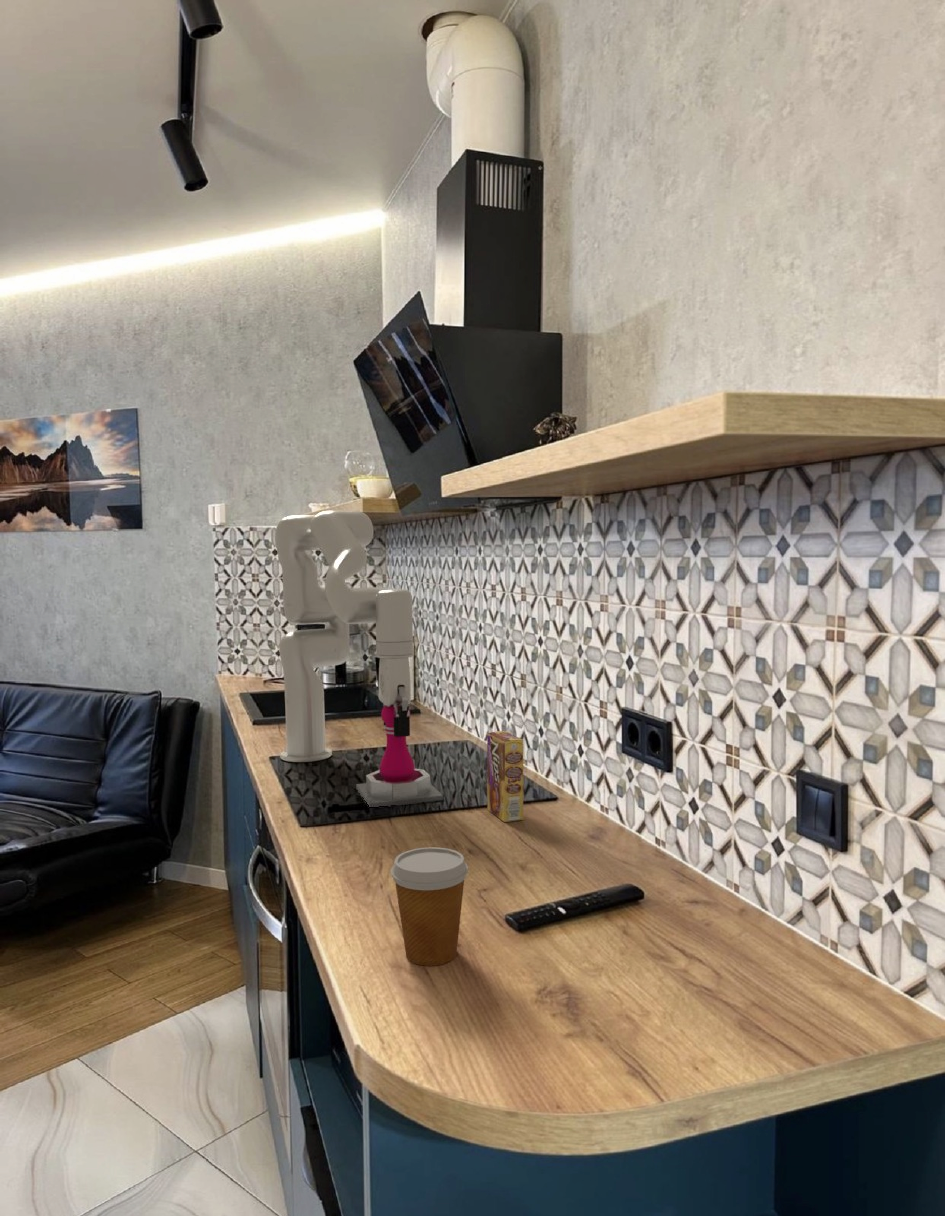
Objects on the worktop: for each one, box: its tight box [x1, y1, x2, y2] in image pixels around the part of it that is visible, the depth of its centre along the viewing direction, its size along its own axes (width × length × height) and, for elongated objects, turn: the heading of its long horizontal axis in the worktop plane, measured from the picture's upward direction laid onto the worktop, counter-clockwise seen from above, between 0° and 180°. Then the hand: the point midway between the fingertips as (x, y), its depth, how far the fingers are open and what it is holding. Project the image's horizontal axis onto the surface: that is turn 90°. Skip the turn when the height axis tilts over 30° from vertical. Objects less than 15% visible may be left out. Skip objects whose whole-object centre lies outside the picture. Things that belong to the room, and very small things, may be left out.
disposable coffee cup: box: [390, 846, 469, 967], centre depth 103 cm, size 10×10×12 cm
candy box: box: [486, 730, 525, 823], centre depth 159 cm, size 9×4×15 cm, turn 20°
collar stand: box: [355, 768, 444, 808], centre depth 174 cm, size 15×15×4 cm
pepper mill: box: [379, 705, 416, 783], centre depth 173 cm, size 7×7×20 cm
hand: (396, 731), depth 173 cm, fingers open, 9 cm apart
